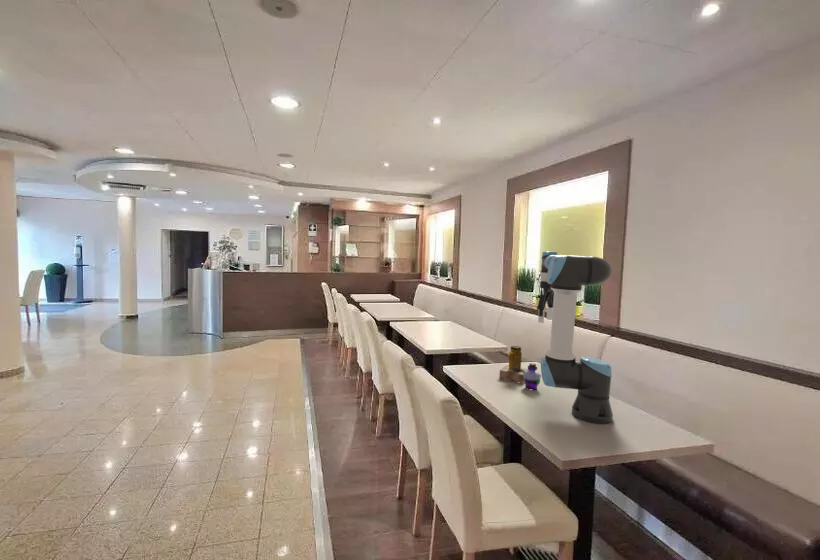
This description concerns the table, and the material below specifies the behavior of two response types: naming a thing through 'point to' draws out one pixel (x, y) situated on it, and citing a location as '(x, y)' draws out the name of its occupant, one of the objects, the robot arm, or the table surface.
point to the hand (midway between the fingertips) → (545, 321)
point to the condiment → (515, 359)
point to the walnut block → (512, 375)
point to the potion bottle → (531, 377)
